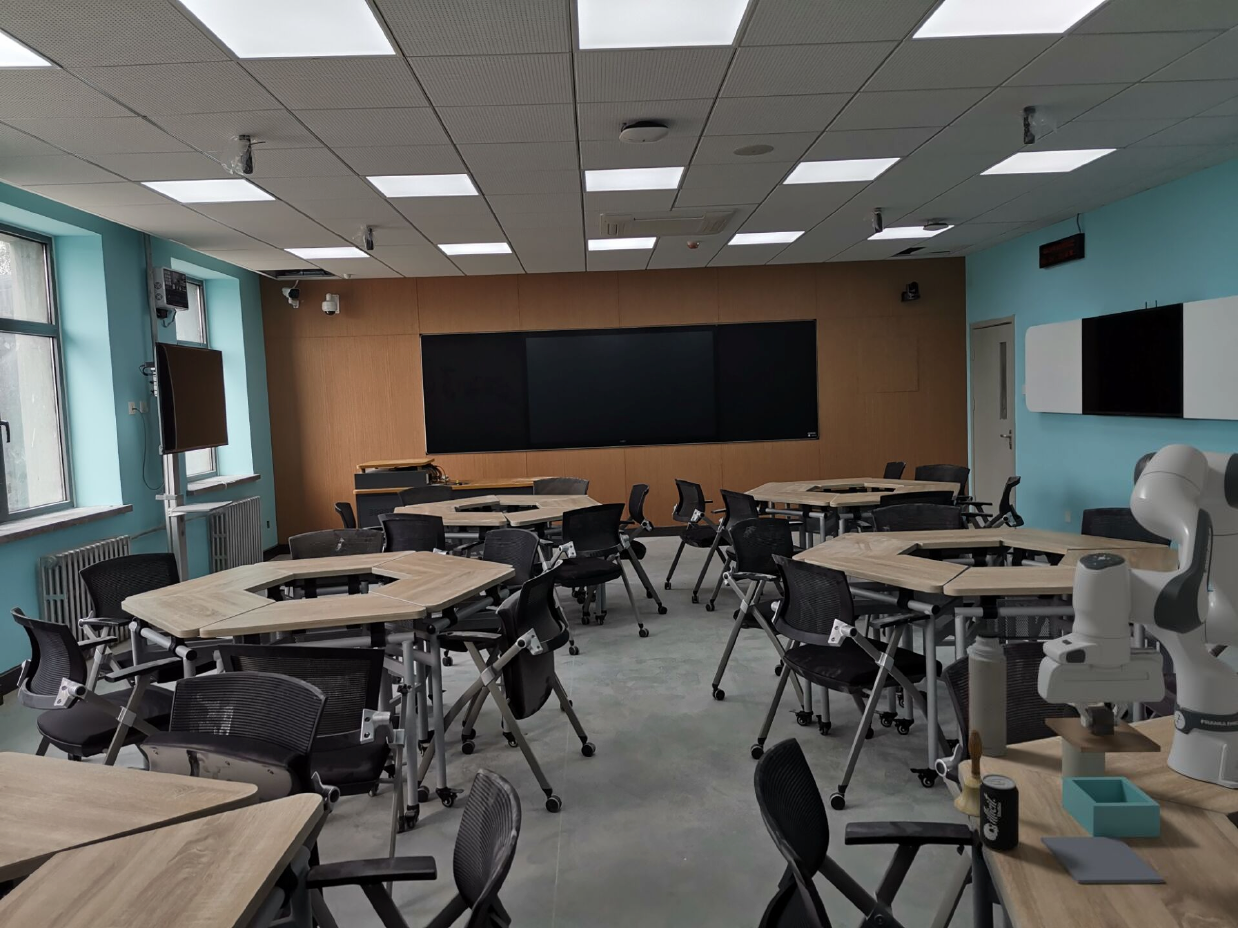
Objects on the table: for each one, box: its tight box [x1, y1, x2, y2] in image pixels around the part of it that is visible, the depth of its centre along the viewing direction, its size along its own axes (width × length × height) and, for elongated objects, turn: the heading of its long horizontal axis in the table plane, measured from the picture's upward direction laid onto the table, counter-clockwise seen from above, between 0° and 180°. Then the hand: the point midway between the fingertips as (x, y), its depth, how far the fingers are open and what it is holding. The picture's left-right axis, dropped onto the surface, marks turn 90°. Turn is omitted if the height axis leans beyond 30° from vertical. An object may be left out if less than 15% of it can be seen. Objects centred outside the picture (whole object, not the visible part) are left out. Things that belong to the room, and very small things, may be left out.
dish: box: [1061, 776, 1161, 838], centre depth 163 cm, size 12×12×6 cm
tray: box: [1040, 836, 1164, 884], centre depth 150 cm, size 14×14×1 cm
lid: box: [1044, 705, 1162, 754], centre depth 148 cm, size 13×13×5 cm
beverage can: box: [979, 773, 1020, 852], centre depth 156 cm, size 7×7×12 cm
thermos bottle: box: [968, 629, 1007, 758], centre depth 196 cm, size 8×8×28 cm
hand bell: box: [953, 730, 983, 818], centre depth 170 cm, size 8×8×16 cm
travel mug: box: [1061, 703, 1106, 781], centre depth 178 cm, size 8×8×18 cm
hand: (1100, 725), depth 148 cm, fingers closed on lid, 3 cm apart
